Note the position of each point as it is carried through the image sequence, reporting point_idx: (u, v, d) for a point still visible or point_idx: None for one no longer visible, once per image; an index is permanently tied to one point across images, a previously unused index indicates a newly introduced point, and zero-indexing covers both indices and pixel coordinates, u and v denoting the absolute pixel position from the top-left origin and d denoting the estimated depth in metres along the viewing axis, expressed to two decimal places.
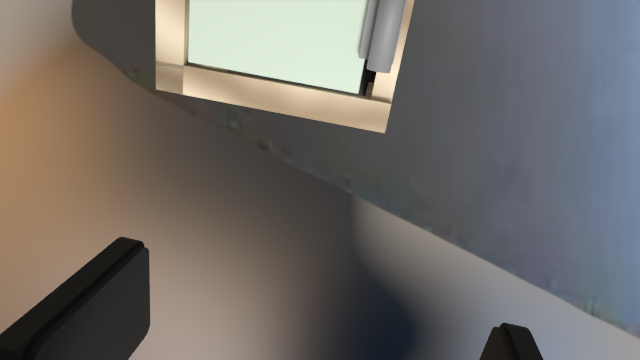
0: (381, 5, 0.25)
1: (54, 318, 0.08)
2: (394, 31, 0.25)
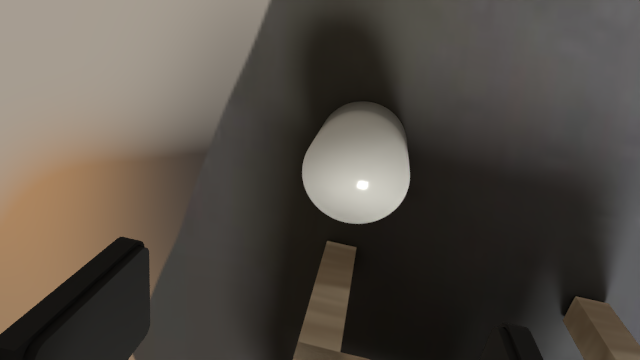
0: None
1: (54, 318, 0.08)
2: None
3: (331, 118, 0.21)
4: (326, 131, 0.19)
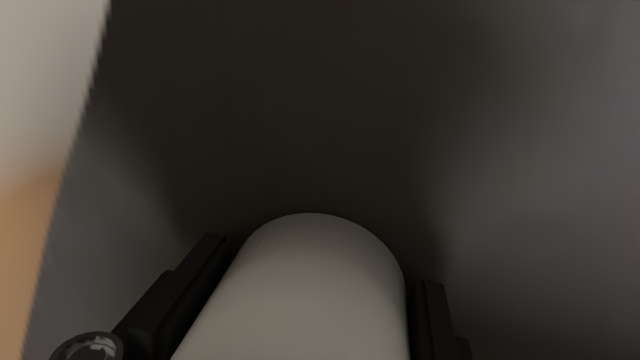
0: None
1: (173, 305, 0.09)
2: None
3: (235, 271, 0.09)
4: None
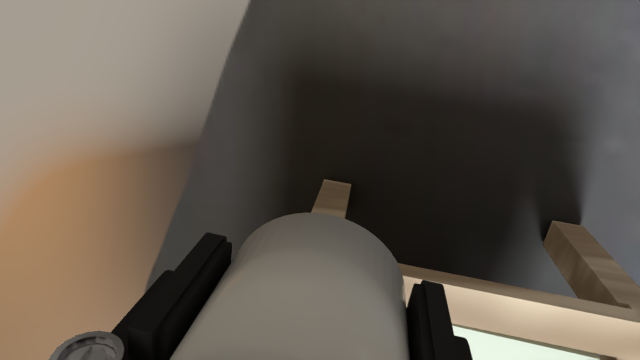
0: None
1: (173, 305, 0.09)
2: None
3: (235, 270, 0.09)
4: (189, 359, 0.07)
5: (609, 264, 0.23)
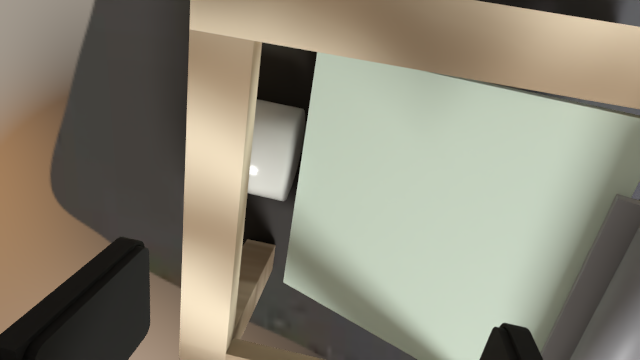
0: (589, 343, 0.13)
1: (54, 318, 0.08)
2: None
3: None
4: None
5: None
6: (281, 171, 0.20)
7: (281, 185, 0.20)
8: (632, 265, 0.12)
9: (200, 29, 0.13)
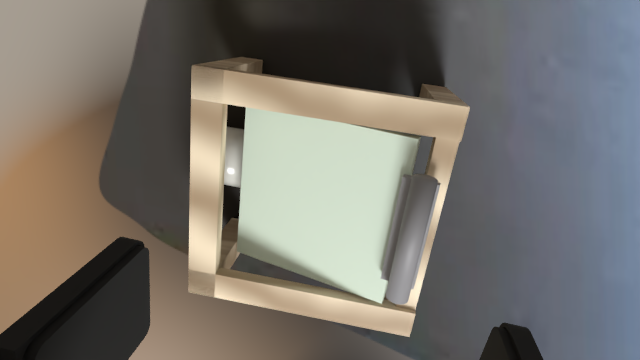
0: (397, 248, 0.27)
1: (54, 318, 0.08)
2: (410, 272, 0.27)
3: None
4: None
5: (448, 94, 0.30)
6: None
7: None
8: (407, 207, 0.26)
9: (196, 98, 0.27)
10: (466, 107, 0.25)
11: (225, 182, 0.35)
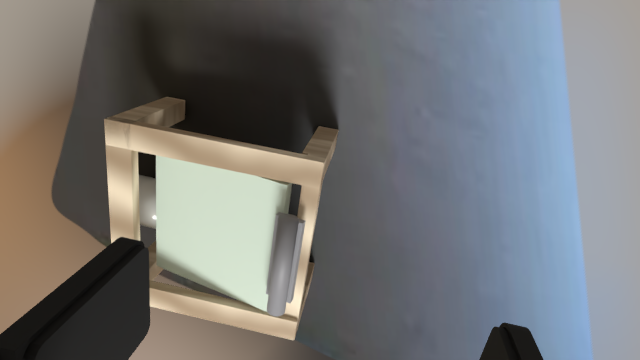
0: (271, 272, 0.33)
1: (54, 318, 0.08)
2: (281, 291, 0.33)
3: None
4: None
5: (326, 142, 0.36)
6: None
7: None
8: (275, 240, 0.32)
9: (110, 145, 0.33)
10: (321, 163, 0.31)
11: None
